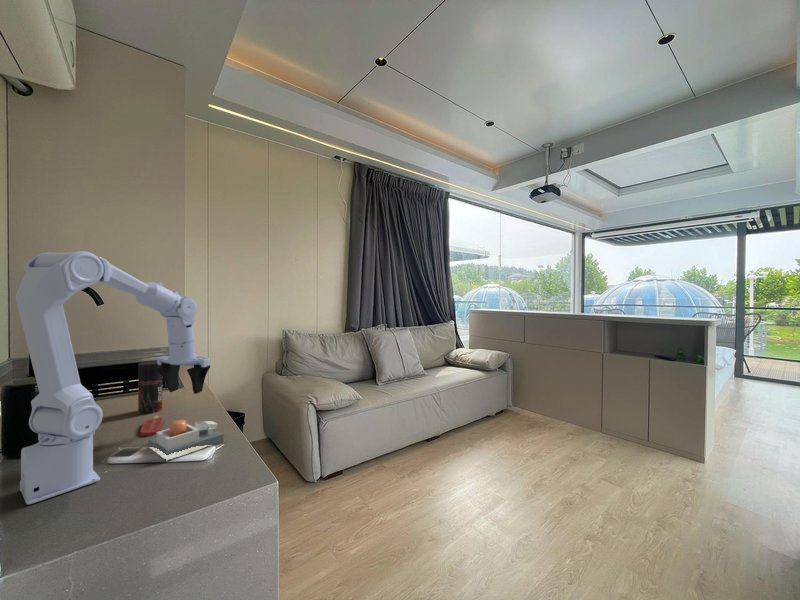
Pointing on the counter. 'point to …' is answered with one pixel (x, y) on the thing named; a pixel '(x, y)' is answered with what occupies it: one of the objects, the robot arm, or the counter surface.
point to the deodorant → (149, 388)
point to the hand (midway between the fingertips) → (185, 391)
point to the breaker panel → (185, 439)
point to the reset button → (177, 427)
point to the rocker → (205, 425)
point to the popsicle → (151, 426)
